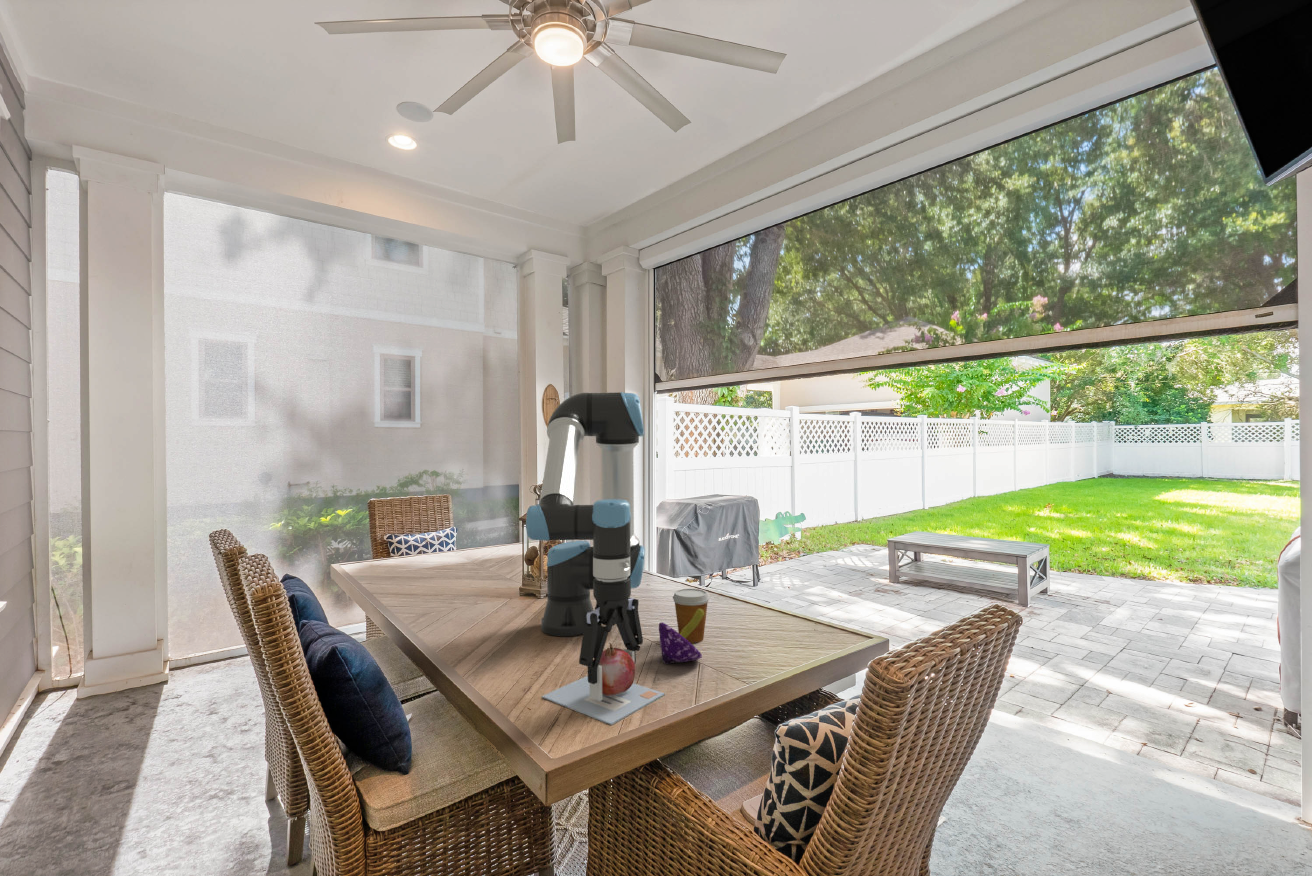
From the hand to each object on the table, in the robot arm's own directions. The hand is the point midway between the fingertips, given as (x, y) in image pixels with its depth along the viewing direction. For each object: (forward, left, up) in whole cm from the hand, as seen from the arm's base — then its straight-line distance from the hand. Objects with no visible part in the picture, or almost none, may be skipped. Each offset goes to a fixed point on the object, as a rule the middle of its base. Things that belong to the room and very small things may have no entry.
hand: (612, 689), depth 119 cm
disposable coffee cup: (-8, +39, -2) cm, 40 cm away
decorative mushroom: (+2, +30, +10) cm, 32 cm away
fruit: (0, 0, 0) cm, 0 cm away
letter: (-2, 0, -2) cm, 3 cm away
